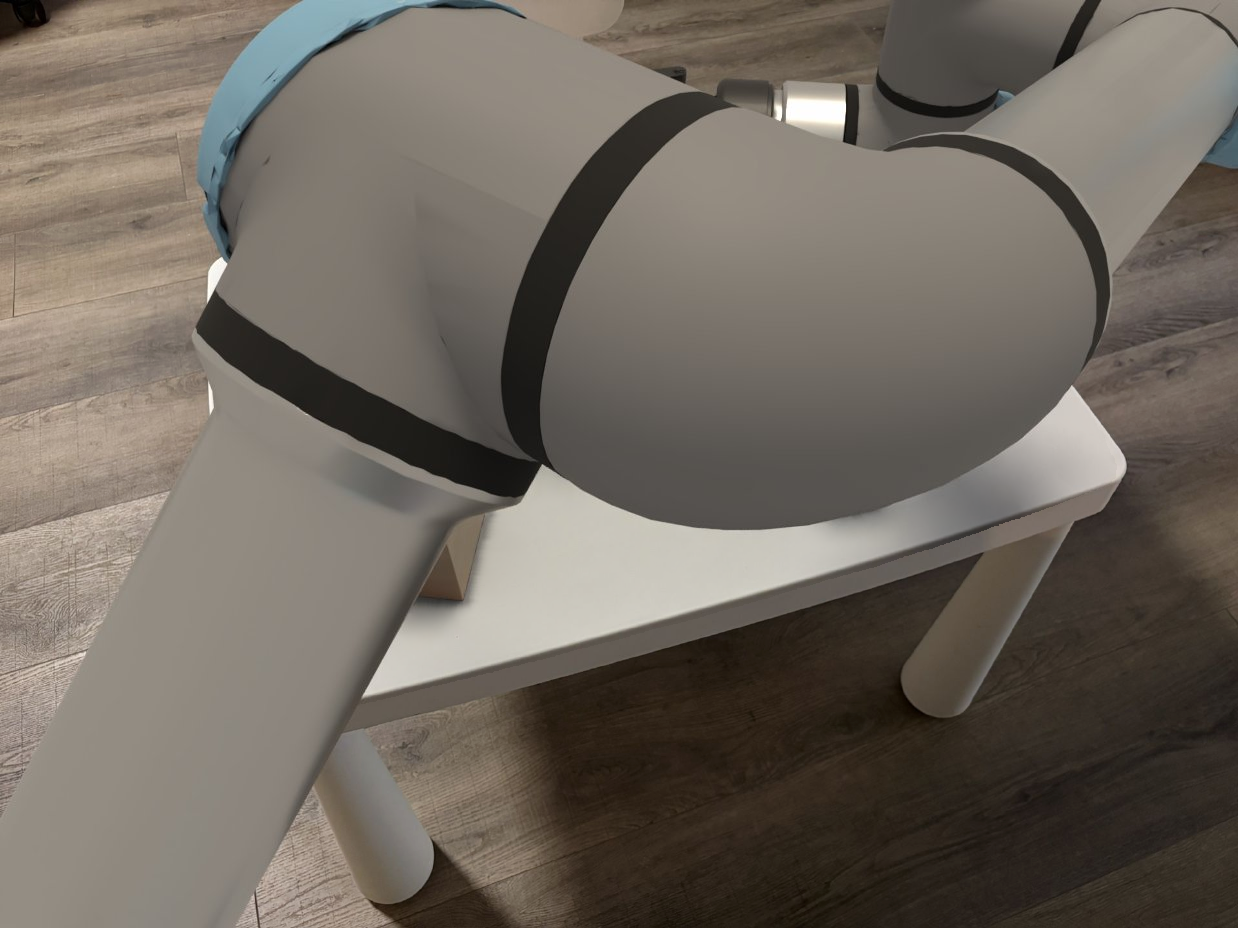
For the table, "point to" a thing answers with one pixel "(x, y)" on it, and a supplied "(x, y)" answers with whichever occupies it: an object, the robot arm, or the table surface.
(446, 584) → the plinth
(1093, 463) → the table surface
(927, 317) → the robot arm
